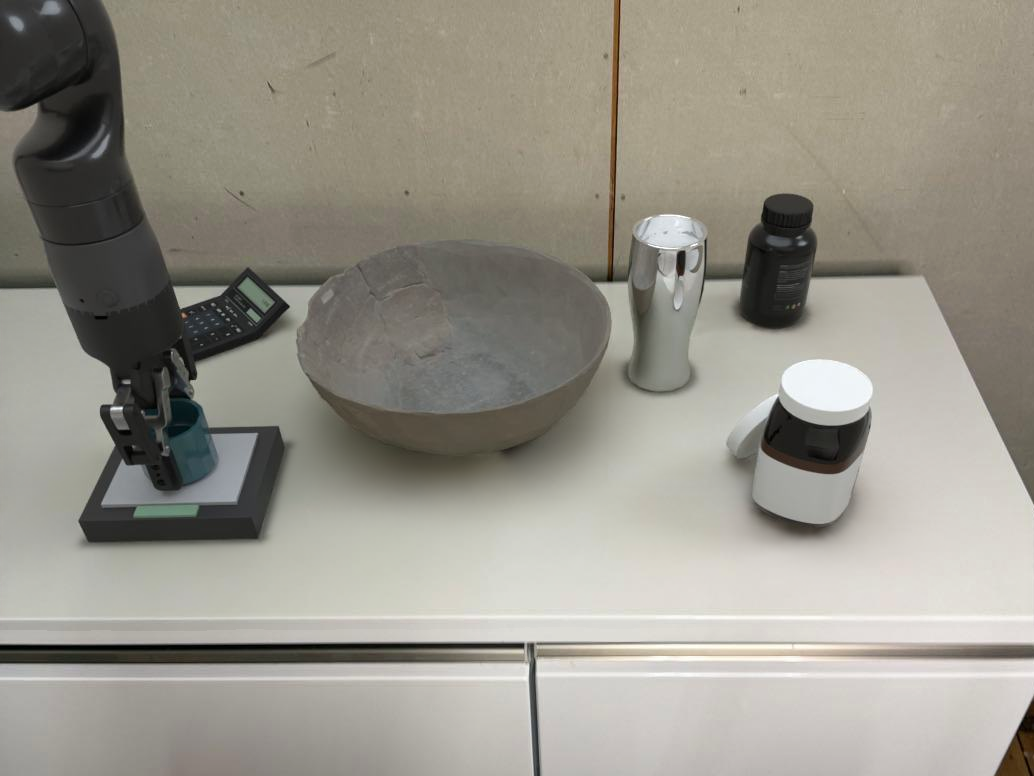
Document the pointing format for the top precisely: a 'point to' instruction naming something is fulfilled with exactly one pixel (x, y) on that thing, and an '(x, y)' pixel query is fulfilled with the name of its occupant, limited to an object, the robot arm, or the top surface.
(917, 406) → the top surface
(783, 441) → the spread jar
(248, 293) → the calculator
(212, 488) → the kitchen scale
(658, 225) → the beer glass
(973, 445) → the top surface
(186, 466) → the teal cup
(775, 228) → the supplement bottle
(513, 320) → the bowl
